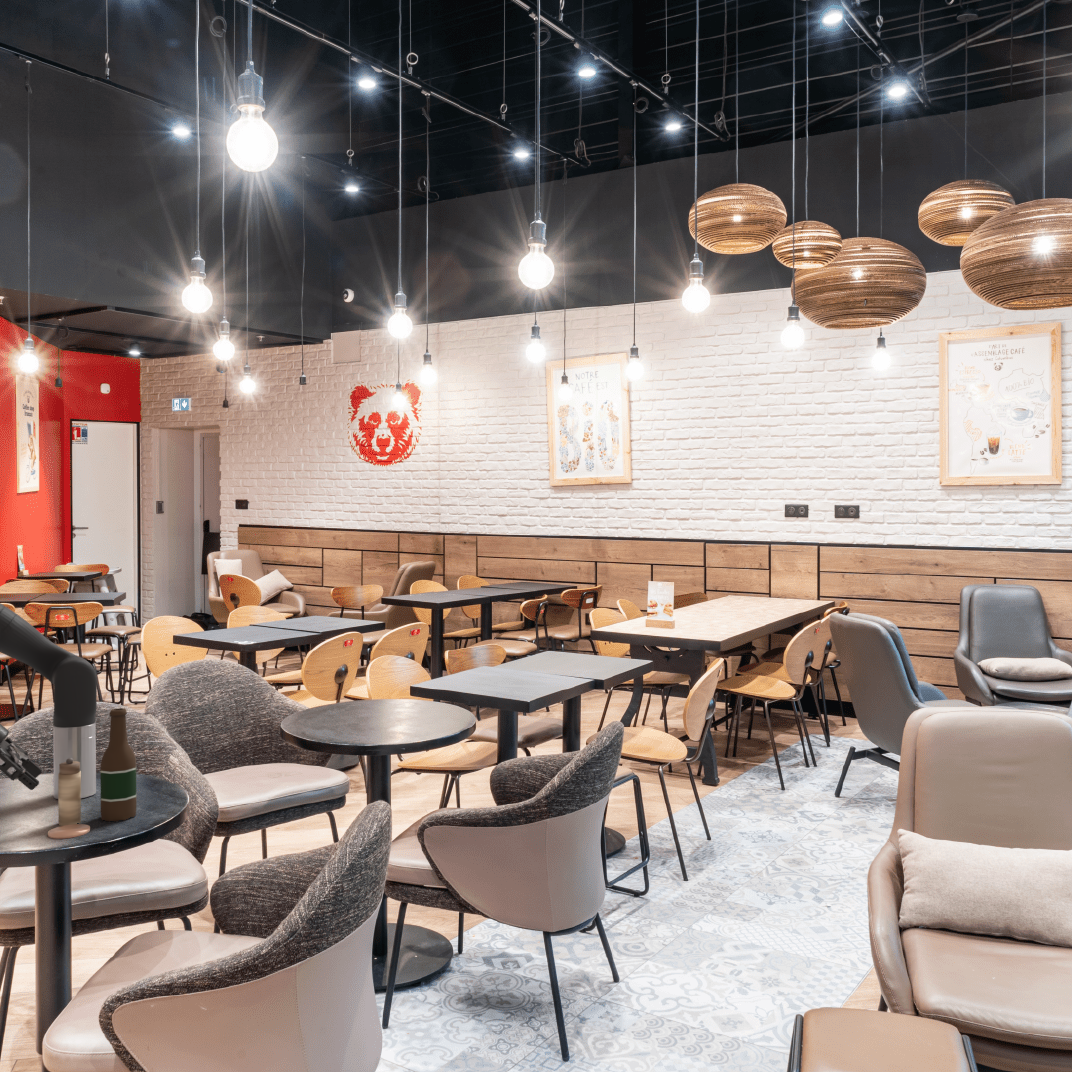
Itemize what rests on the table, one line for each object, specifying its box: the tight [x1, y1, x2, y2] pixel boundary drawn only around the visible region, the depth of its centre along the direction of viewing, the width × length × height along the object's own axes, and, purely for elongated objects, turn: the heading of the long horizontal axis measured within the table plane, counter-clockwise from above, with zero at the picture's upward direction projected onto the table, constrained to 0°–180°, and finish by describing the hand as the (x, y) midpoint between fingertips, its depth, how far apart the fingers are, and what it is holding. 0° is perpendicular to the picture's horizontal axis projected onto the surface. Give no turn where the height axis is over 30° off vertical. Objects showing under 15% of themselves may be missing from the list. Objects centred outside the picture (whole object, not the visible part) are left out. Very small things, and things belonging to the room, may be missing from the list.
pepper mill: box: [57, 758, 82, 827], centre depth 207 cm, size 4×4×14 cm
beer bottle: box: [99, 707, 138, 822], centre depth 211 cm, size 8×8×24 cm
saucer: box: [47, 823, 91, 840], centre depth 200 cm, size 8×8×1 cm
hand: (37, 780), depth 205 cm, fingers open, 8 cm apart
